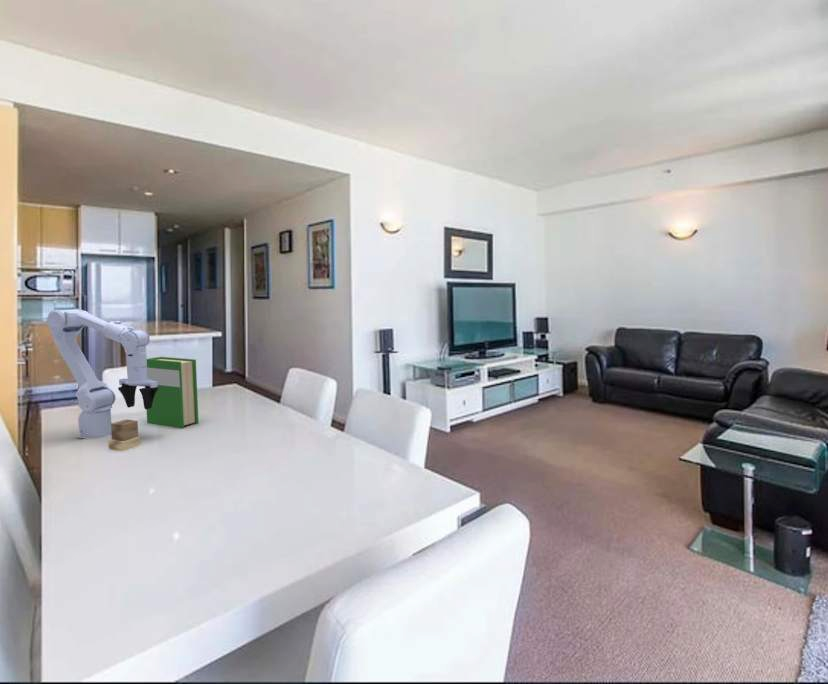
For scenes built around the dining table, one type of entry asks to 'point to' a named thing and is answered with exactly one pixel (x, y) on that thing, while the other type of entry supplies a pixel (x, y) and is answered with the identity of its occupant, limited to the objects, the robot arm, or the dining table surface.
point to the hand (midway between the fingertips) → (139, 407)
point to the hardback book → (173, 392)
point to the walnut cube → (124, 430)
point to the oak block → (124, 444)
